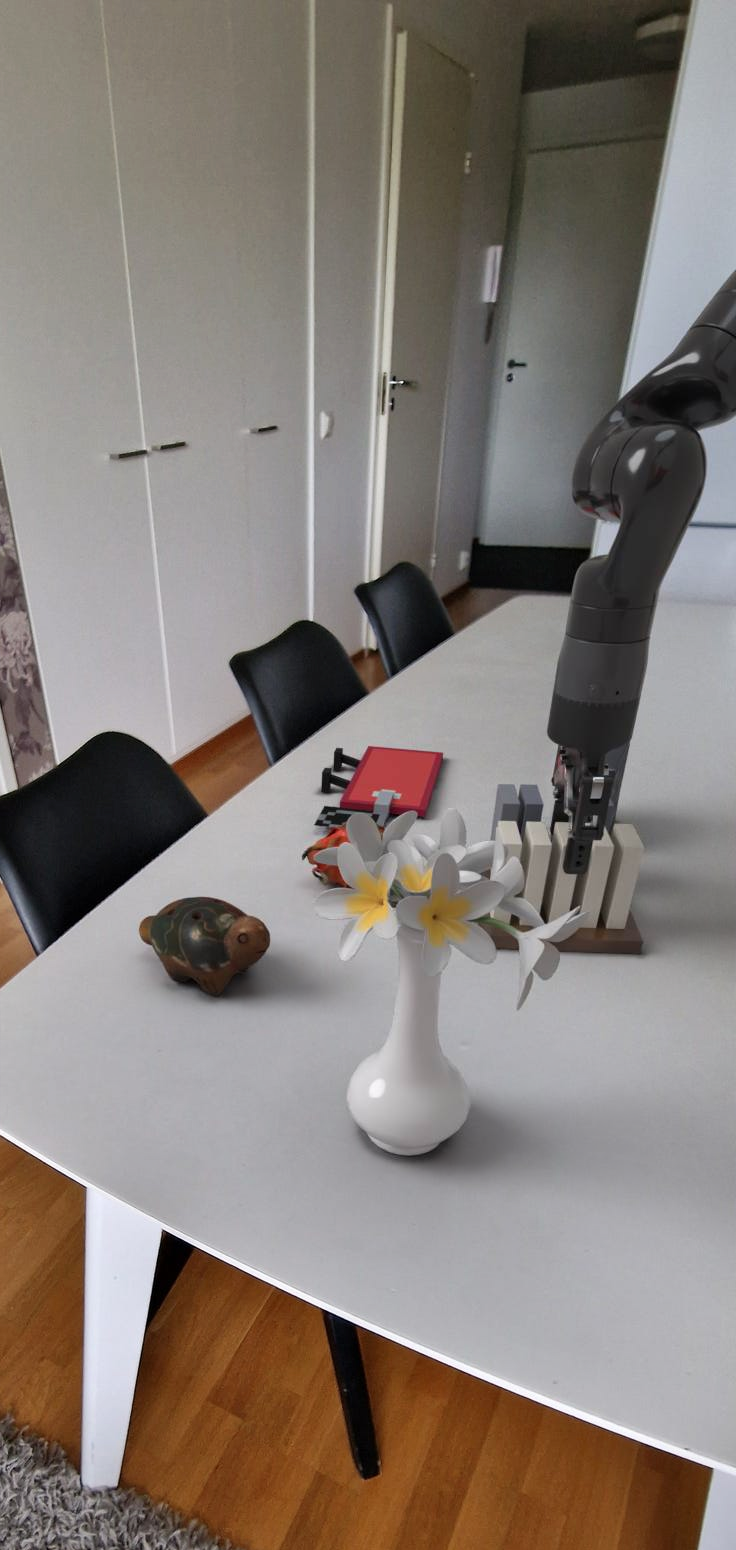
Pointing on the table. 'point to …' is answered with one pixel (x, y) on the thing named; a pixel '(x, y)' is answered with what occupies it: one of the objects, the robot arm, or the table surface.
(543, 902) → the cream thin block
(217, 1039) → the table surface
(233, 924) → the decorative turtle
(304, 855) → the dragon fruit
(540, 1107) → the table surface
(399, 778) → the red board with handle
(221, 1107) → the table surface
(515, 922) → the board
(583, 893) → the white books
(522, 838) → the grey books
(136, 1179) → the table surface
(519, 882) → the flower vase
